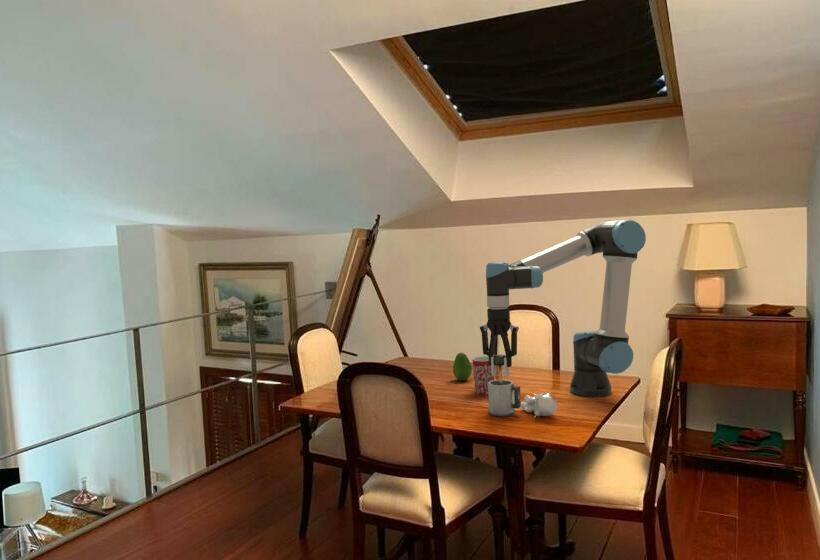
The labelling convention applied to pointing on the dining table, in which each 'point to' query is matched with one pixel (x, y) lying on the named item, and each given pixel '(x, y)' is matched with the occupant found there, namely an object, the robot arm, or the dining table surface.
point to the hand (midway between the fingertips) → (500, 375)
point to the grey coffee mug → (503, 398)
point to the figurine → (540, 404)
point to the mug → (482, 374)
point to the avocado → (462, 367)
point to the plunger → (499, 362)
